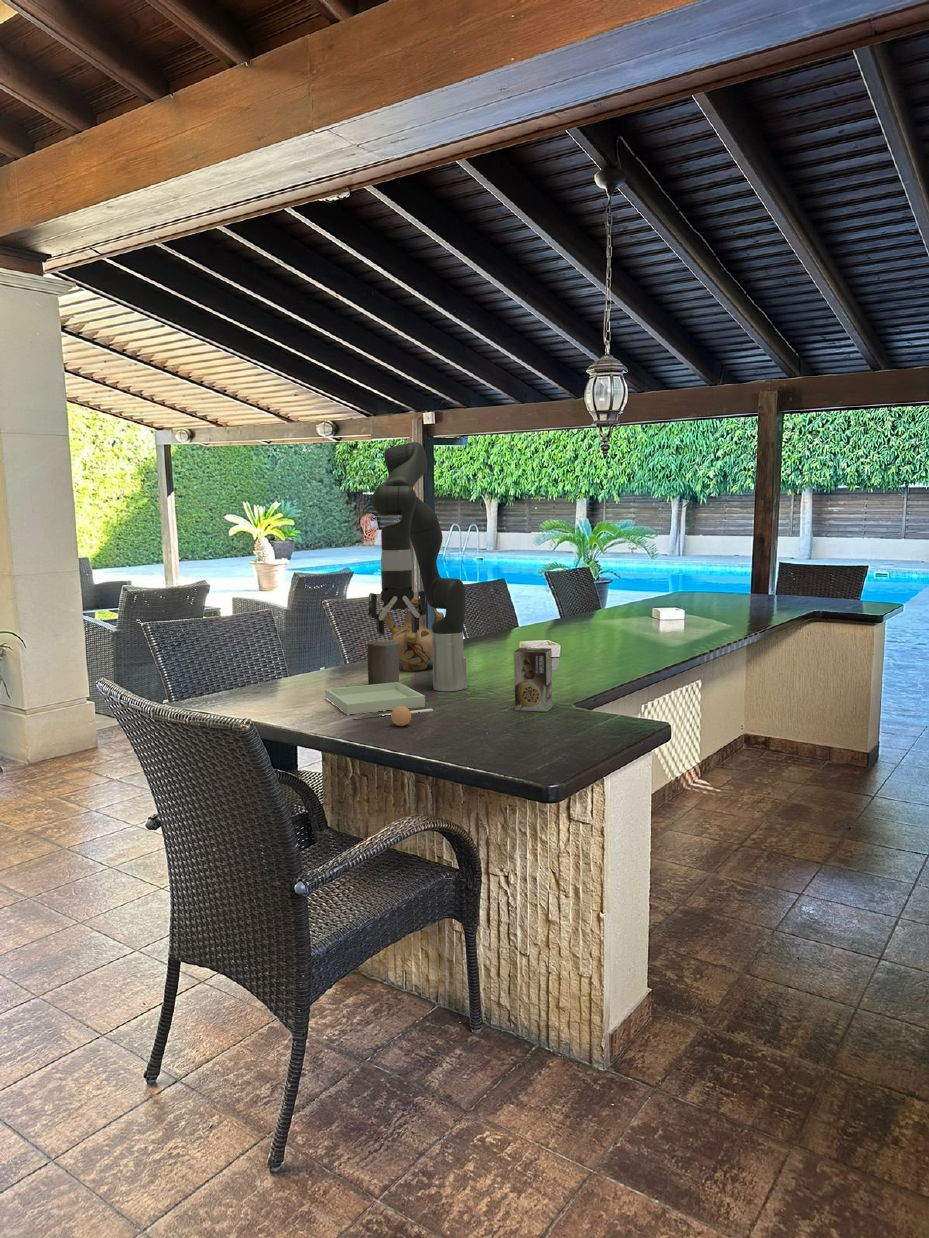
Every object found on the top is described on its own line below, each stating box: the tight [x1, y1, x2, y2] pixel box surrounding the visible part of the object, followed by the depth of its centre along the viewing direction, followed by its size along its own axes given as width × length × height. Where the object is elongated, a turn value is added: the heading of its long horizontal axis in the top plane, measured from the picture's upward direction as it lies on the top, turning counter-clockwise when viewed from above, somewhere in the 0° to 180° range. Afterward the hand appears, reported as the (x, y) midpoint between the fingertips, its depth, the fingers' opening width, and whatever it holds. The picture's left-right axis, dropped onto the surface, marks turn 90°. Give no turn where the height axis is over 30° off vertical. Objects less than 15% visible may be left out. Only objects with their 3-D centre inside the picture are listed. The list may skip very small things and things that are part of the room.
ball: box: [390, 706, 412, 727], centre depth 220 cm, size 5×5×5 cm
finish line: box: [380, 708, 434, 716], centre depth 232 cm, size 22×2×1 cm, turn 114°
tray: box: [324, 681, 426, 714], centre depth 246 cm, size 22×22×3 cm
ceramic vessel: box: [383, 597, 445, 672], centre depth 296 cm, size 18×19×25 cm
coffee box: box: [513, 647, 553, 713], centre depth 235 cm, size 9×6×16 cm
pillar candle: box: [366, 637, 400, 685], centre depth 268 cm, size 10×10×15 cm
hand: (398, 633), depth 217 cm, fingers open, 8 cm apart
